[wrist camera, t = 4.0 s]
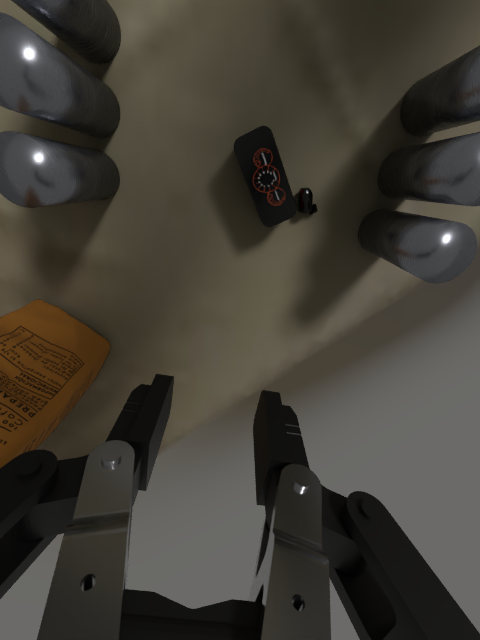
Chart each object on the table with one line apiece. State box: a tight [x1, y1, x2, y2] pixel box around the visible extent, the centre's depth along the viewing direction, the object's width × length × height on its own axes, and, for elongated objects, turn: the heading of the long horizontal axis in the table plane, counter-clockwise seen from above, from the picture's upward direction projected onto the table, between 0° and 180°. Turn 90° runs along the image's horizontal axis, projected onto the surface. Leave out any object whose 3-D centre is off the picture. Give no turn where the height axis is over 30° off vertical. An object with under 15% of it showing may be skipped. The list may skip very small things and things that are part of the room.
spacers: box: [0, 0, 480, 283], centre depth 18 cm, size 13×28×9 cm, turn 80°
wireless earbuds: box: [234, 126, 317, 227], centre depth 22 cm, size 5×7×3 cm, turn 23°
